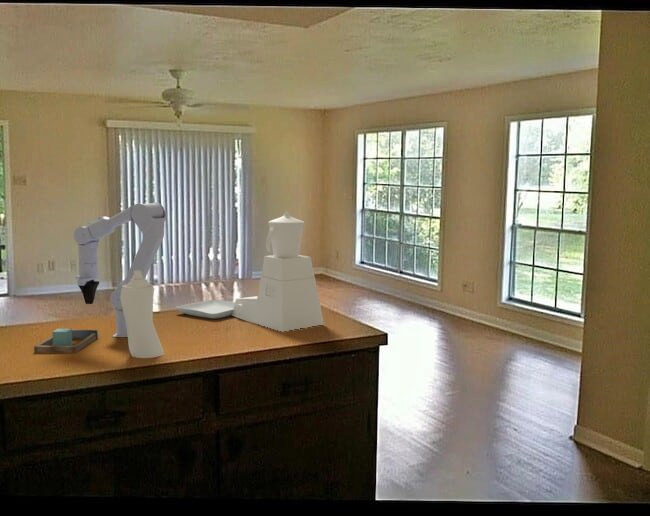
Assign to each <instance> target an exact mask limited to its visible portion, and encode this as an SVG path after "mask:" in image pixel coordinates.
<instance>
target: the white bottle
mask: <svg viewBox="0 0 650 516" xmlns="http://www.w3.org/2000/svg"><path fill="white" fill-rule="evenodd" d="M122 287H123V288H122V290H121V296H120V299H121V303H122V308H123V312H124V317H125V321H126V328H127V336H128V338H127V342H128V343H127V344H128V350H129V353H130V355H131V357H133V358H137V359H151V358H158V357H161V356H163V355H164V354H165V353H164V349H163V346H162V344H161V341H160V337H159V335H158V333H157V330H156V327H155V324H154V322H153V321H154V319H153V318H154V317H153V315H154V292H155V287H154V284H152V283H149V281H147V280H146V277H145V278H143V275H142V271H140V270H135V271H134V276H133V278H132V279H130V282H129V283H128V284H125V285H123V286H122Z"/></svg>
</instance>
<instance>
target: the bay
mask: <svg viewBox="0 0 650 516" xmlns="http://www.w3.org/2000/svg"><path fill="white" fill-rule="evenodd" d="M96 340H97V339H96V333H93V334H91V335H90V336H88V337H87V338H85V339H81V340H80V341H79V342H78V343H76V344H75V345H72V346H53V335H51V336H49V337H48V338H46V339H45V340H43V341H41V342H40V343H38V344H35V345H34V346H33V350H34V351H33V353H34V354H35V353H37V354H41V353H42V354H43V353H44V354H45V353H46V354H47V353H49V354H52V353H53V354H54V353H55V354H57V353H58V354H60V353H64V354H67V353H70V354H71V353H75V354H77V353H78V352H79V350H80V351H81V350H82V348H83V349H84V348H86V347H87V346H89V345H90V344H92V343H93V342H95V341H96ZM88 344H89V345H88ZM85 346H86V347H85Z"/></svg>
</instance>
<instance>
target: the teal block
mask: <svg viewBox="0 0 650 516" xmlns="http://www.w3.org/2000/svg"><path fill="white" fill-rule="evenodd" d="M72 330H73V329H72V328H56V329H55V330H53V331H52V336H53V344H52V346H73V339H72Z"/></svg>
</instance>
